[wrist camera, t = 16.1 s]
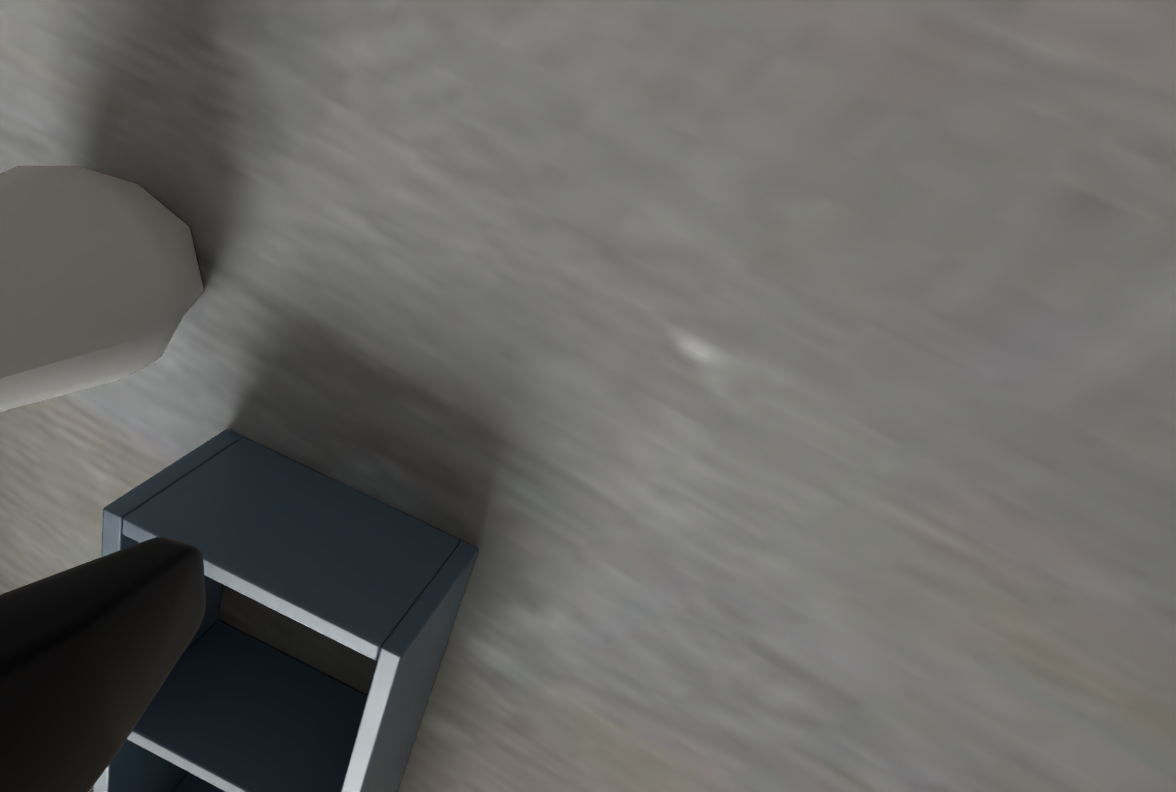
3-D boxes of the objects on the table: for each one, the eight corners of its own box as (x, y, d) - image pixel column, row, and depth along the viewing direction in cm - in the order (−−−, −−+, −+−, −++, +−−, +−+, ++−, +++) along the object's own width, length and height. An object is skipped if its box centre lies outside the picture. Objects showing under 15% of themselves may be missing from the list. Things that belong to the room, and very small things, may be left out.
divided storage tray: (479, 548, 24) (402, 656, 20) (373, 862, 32) (303, 986, 28) (226, 428, 25) (102, 507, 21) (185, 762, 33) (89, 868, 29)
